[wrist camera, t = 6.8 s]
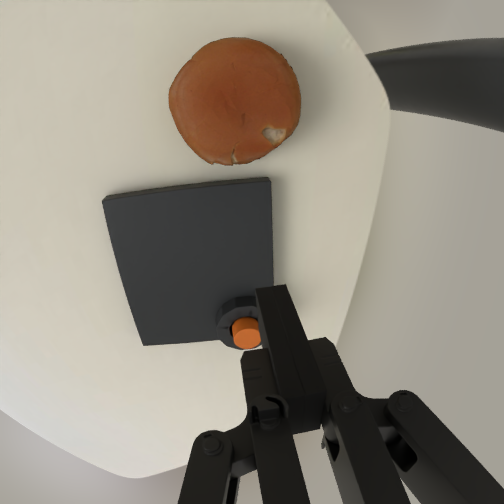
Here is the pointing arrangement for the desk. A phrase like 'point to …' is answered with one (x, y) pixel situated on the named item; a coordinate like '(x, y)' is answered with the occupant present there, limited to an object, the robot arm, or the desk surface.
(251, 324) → the button
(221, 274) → the scale
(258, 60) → the burger
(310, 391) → the robot arm
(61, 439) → the desk surface
